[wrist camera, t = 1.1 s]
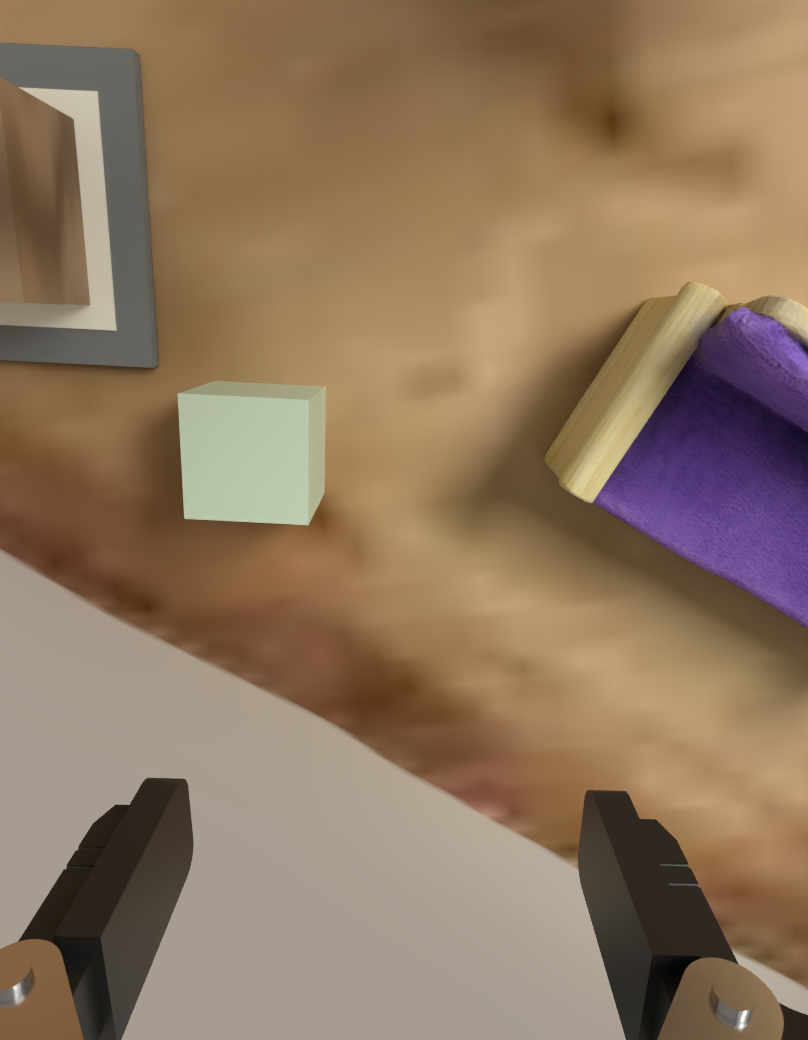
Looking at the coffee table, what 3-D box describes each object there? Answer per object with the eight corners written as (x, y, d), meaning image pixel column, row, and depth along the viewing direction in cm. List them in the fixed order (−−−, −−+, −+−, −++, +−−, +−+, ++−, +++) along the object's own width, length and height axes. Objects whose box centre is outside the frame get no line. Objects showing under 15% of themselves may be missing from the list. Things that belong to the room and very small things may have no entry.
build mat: (-165, 39, 26) (-180, 32, 25) (139, 55, 26) (132, 48, 25) (-109, 353, 30) (-121, 354, 29) (158, 366, 30) (152, 367, 29)
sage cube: (215, 380, 30) (177, 393, 25) (325, 386, 30) (308, 399, 25) (219, 487, 31) (184, 518, 27) (324, 492, 31) (308, 524, 27)
